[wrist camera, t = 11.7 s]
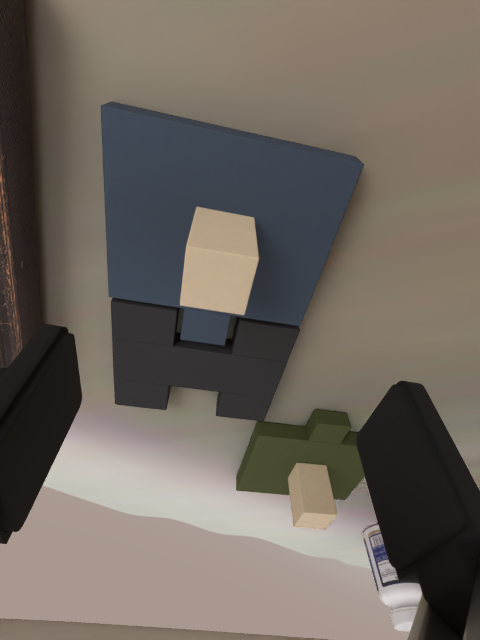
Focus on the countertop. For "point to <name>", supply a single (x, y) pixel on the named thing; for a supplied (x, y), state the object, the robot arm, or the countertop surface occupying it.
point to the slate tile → (222, 180)
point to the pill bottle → (391, 582)
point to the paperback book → (16, 191)
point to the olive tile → (302, 449)
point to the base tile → (196, 360)
